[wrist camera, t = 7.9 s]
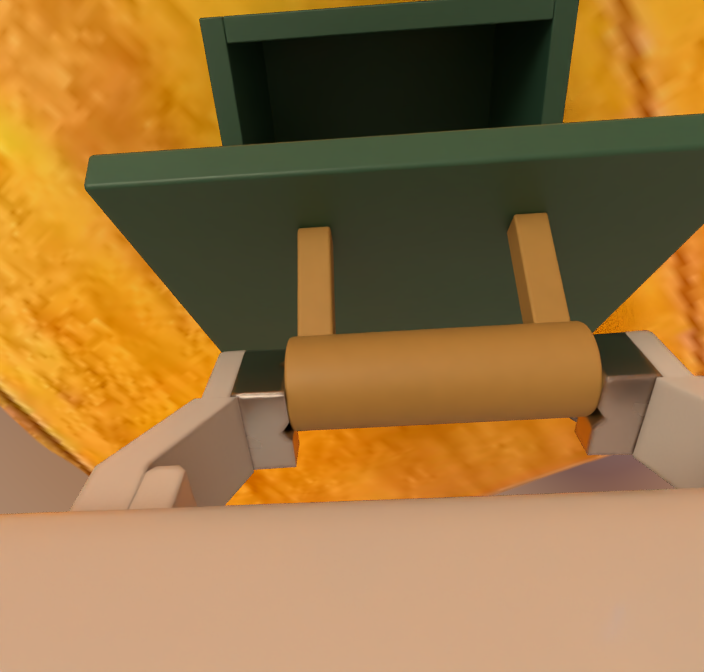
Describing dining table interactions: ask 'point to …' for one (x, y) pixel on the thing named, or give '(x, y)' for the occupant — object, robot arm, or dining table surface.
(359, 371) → the lid
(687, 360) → the dining table surface
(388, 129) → the toy box
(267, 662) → the robot arm
